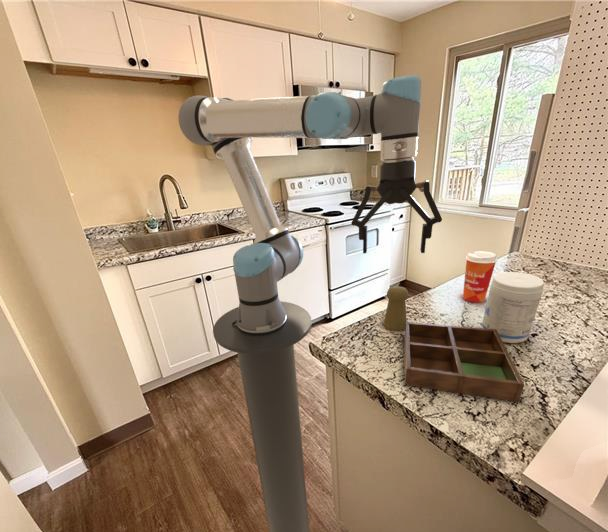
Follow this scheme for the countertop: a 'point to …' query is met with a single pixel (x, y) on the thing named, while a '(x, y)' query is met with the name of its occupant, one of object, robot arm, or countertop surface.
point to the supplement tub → (512, 305)
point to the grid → (460, 361)
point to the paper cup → (478, 275)
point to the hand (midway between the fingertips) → (392, 251)
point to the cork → (396, 308)
